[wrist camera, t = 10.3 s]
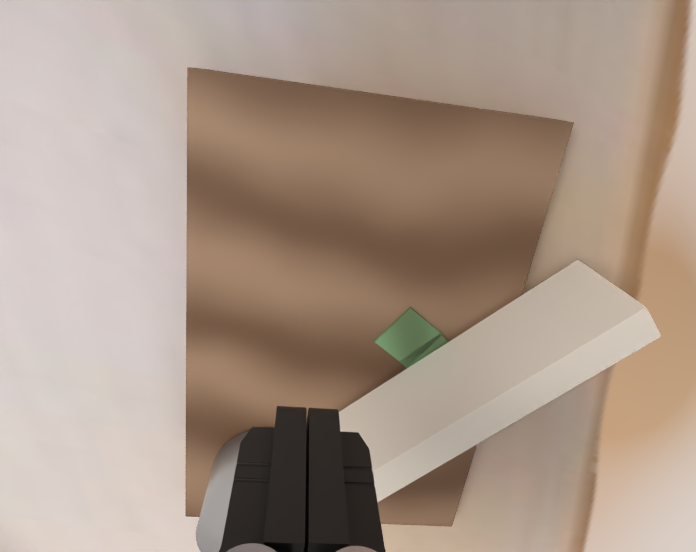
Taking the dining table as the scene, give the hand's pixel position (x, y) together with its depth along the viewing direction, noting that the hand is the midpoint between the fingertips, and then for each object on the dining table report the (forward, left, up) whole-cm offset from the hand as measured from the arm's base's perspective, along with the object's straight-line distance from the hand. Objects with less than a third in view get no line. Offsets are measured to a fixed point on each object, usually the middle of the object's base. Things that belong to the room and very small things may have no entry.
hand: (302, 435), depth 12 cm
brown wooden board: (+4, +3, -13) cm, 14 cm away
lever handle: (+7, +5, -11) cm, 14 cm away
